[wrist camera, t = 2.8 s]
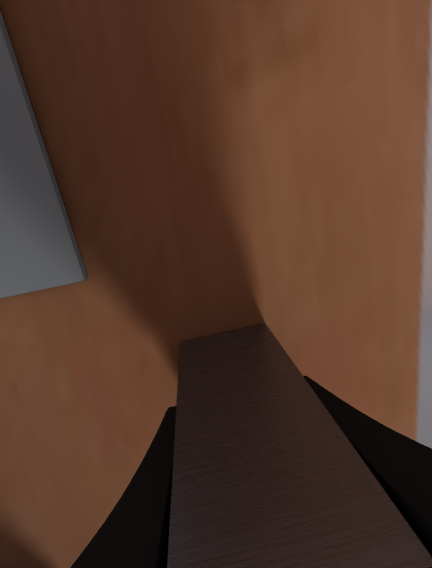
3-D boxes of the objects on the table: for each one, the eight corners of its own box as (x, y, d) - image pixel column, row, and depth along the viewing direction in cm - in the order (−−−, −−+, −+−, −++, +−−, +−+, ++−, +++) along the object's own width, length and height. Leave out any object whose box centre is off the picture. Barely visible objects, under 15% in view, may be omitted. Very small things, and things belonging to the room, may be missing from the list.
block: (276, 395, 14) (431, 712, 5) (198, 414, 13) (217, 779, 5) (265, 323, 13) (438, 565, 4) (180, 342, 12) (162, 640, 4)
